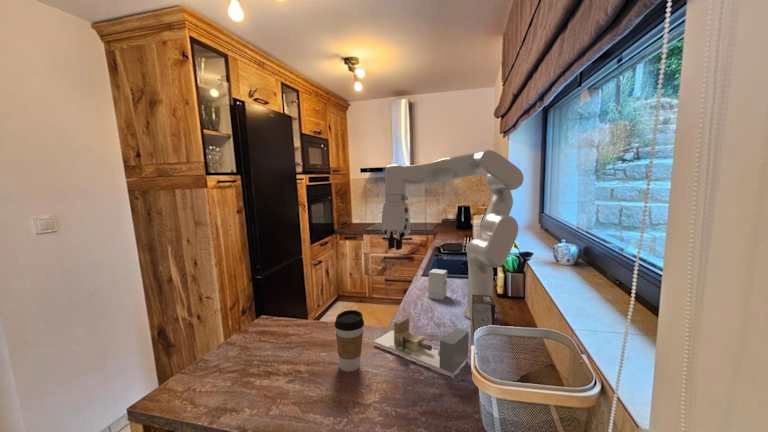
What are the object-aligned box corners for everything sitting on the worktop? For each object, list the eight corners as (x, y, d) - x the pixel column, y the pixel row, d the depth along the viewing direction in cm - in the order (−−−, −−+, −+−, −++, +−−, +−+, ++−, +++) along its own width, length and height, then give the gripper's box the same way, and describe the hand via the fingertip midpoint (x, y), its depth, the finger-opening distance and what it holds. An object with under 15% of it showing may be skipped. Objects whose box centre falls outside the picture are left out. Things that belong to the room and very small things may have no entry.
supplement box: (443, 300, 140) (443, 273, 139) (427, 298, 143) (428, 271, 142) (447, 295, 147) (447, 270, 146) (432, 293, 150) (432, 268, 149)
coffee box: (494, 356, 93) (496, 304, 92) (472, 353, 94) (473, 303, 93) (490, 341, 102) (491, 294, 101) (470, 339, 103) (471, 293, 102)
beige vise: (373, 345, 99) (373, 317, 98) (392, 334, 107) (392, 308, 106) (452, 378, 82) (453, 344, 81) (467, 362, 89) (468, 331, 89)
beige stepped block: (391, 346, 95) (391, 324, 94) (404, 337, 101) (405, 316, 100) (423, 359, 88) (423, 335, 87) (435, 349, 94) (436, 326, 93)
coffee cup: (368, 360, 90) (368, 311, 89) (357, 376, 82) (356, 323, 81) (343, 355, 93) (342, 308, 92) (329, 370, 85) (328, 319, 84)
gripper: (419, 199, 109) (419, 250, 110) (384, 198, 119) (384, 245, 120) (407, 199, 103) (407, 253, 104) (371, 199, 113) (371, 247, 114)
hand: (395, 248), depth 112 cm, fingers open, 2 cm apart
